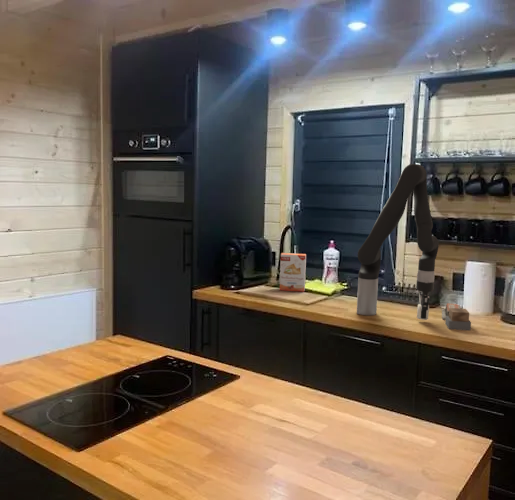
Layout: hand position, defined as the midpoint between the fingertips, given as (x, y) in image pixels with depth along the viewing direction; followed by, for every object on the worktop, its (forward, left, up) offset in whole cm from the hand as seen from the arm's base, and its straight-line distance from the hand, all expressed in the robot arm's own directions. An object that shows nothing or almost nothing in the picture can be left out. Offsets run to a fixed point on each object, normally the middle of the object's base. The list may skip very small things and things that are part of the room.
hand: (422, 316), depth 252 cm
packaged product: (+16, +15, -3) cm, 22 cm away
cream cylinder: (0, 0, -1) cm, 1 cm away
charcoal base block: (+15, -5, -3) cm, 16 cm away
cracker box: (-65, +52, -3) cm, 83 cm away
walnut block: (+15, -5, +1) cm, 15 cm away
